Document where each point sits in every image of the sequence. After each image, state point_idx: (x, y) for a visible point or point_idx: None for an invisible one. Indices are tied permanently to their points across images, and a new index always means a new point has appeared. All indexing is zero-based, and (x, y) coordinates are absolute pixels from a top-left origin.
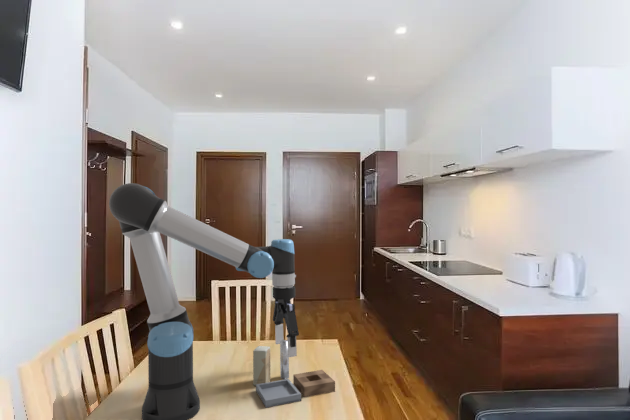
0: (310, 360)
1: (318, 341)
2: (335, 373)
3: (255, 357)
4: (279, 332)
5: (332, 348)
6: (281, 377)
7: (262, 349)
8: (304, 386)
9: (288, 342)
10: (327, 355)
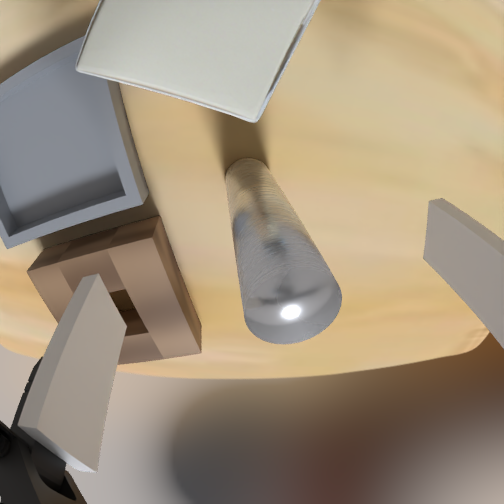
0: (391, 299)
1: None
2: (243, 362)
3: None
4: (487, 284)
5: (434, 354)
6: (235, 163)
7: (140, 23)
8: (30, 272)
9: (38, 374)
10: (400, 346)
